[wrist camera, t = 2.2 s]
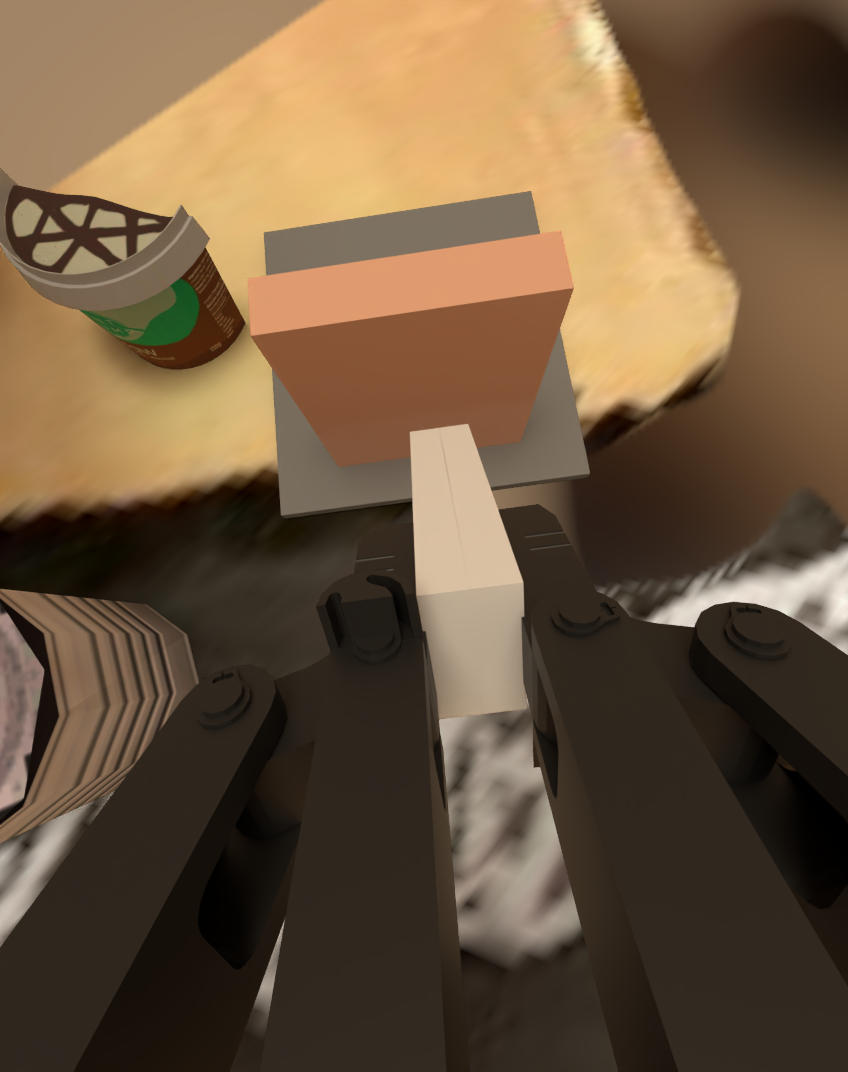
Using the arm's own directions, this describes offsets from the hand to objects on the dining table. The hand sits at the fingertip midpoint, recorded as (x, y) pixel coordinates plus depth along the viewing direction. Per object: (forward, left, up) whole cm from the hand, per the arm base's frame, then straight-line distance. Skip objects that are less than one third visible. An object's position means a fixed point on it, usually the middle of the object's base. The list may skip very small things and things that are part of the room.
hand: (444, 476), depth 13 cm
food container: (-23, +12, -18) cm, 32 cm away
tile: (-3, +8, -17) cm, 19 cm away
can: (-19, -12, -18) cm, 29 cm away
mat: (-5, +15, -18) cm, 24 cm away
